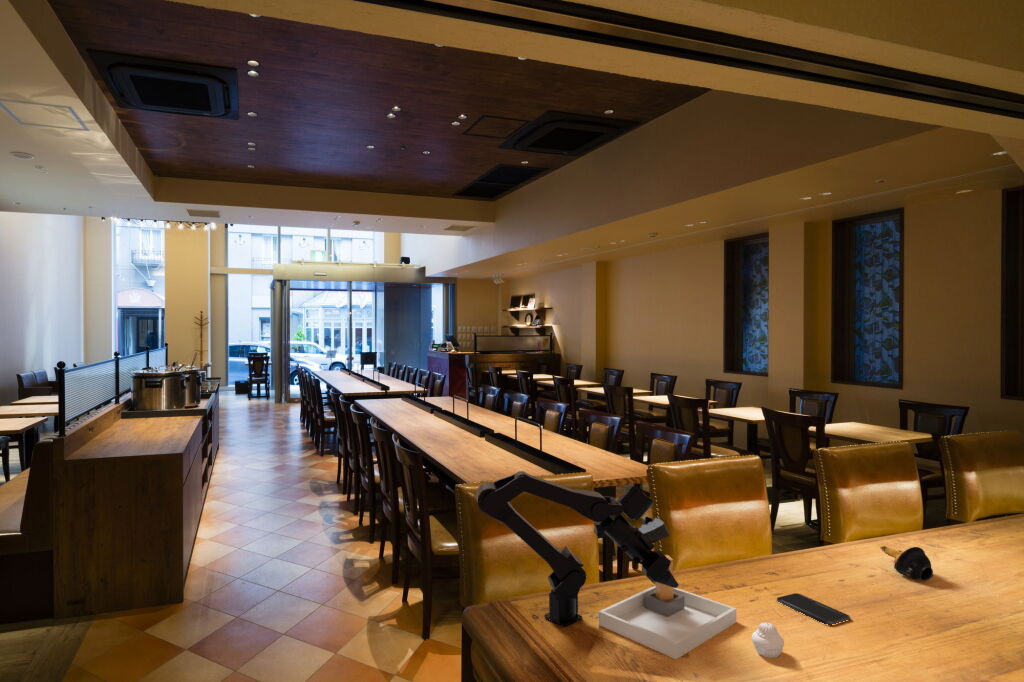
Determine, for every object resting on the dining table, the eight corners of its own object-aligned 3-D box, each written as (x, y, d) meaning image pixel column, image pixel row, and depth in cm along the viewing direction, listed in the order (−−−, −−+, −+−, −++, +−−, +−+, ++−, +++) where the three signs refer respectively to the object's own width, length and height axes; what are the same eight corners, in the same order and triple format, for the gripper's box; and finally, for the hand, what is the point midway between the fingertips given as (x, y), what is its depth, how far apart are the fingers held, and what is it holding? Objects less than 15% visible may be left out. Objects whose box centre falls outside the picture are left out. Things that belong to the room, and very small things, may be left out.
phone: (829, 623, 135) (774, 598, 149) (829, 628, 135) (774, 602, 149) (852, 616, 138) (797, 592, 152) (852, 621, 138) (797, 596, 152)
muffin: (775, 649, 125) (775, 615, 125) (790, 665, 119) (790, 629, 119) (746, 650, 125) (746, 616, 125) (759, 665, 119) (759, 630, 119)
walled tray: (676, 664, 120) (675, 644, 120) (598, 629, 135) (598, 611, 135) (736, 626, 136) (736, 608, 136) (661, 598, 151) (661, 582, 151)
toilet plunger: (911, 569, 157) (860, 527, 173) (915, 599, 161) (865, 556, 177) (942, 554, 157) (888, 515, 174) (945, 585, 161) (892, 543, 178)
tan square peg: (660, 611, 141) (659, 560, 141) (655, 605, 144) (655, 555, 144) (673, 610, 142) (673, 559, 142) (668, 605, 145) (668, 555, 145)
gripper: (661, 520, 133) (709, 568, 135) (634, 499, 152) (677, 541, 153) (627, 557, 132) (676, 605, 134) (604, 531, 151) (647, 573, 152)
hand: (669, 578), depth 143 cm, fingers open, 9 cm apart
